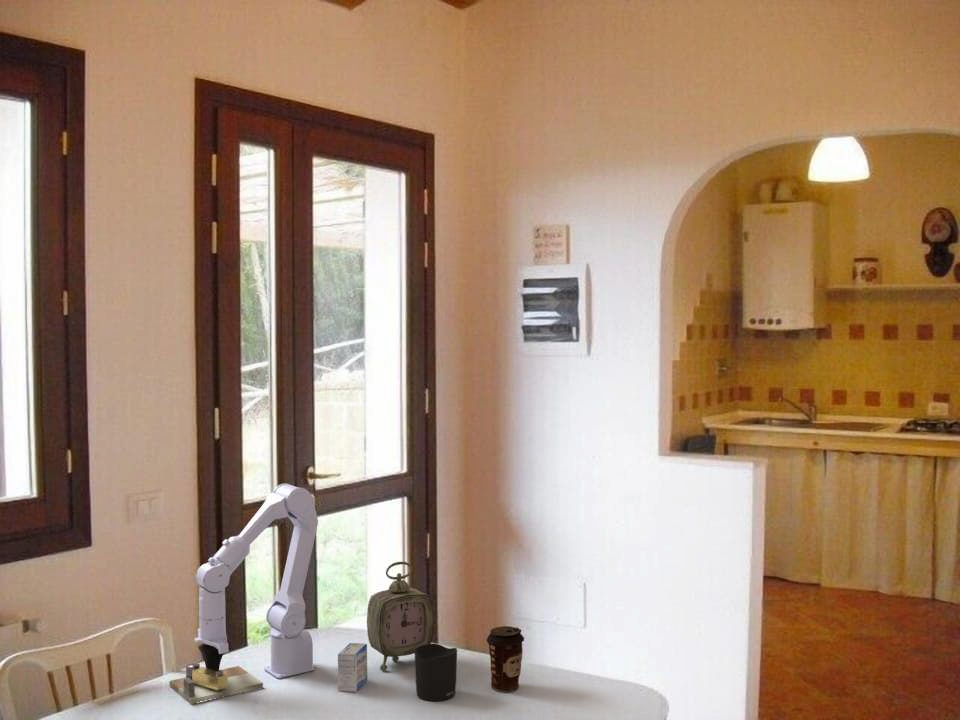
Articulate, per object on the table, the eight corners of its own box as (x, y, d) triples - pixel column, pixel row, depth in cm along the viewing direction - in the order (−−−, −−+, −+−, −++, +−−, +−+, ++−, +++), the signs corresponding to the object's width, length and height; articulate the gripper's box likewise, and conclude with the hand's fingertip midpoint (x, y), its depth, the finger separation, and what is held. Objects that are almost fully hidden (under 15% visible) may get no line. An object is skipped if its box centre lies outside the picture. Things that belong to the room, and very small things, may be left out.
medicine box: (356, 692, 212) (356, 654, 212) (337, 691, 213) (337, 653, 212) (367, 680, 220) (367, 643, 219) (349, 679, 220) (349, 642, 220)
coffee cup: (530, 684, 216) (530, 627, 216) (516, 696, 209) (516, 638, 209) (495, 678, 220) (495, 623, 220) (480, 690, 213) (480, 633, 212)
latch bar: (183, 680, 215) (183, 664, 215) (194, 676, 217) (193, 660, 217) (217, 690, 208) (217, 674, 208) (227, 686, 211) (227, 670, 211)
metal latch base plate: (238, 670, 226) (238, 653, 226) (263, 688, 215) (262, 669, 215) (169, 686, 216) (169, 667, 216) (191, 704, 205) (191, 685, 205)
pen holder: (419, 704, 205) (419, 658, 204) (411, 689, 214) (410, 645, 213) (461, 700, 207) (461, 654, 207) (451, 685, 216) (451, 641, 216)
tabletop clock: (379, 675, 223) (378, 569, 222) (364, 663, 231) (363, 561, 230) (434, 664, 230) (433, 561, 230) (417, 653, 238) (416, 554, 237)
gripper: (184, 612, 219) (185, 670, 219) (206, 628, 207) (206, 689, 208) (214, 606, 223) (215, 663, 223) (237, 622, 211) (238, 682, 212)
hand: (213, 676), depth 216 cm, fingers closed, pressing on latch bar
